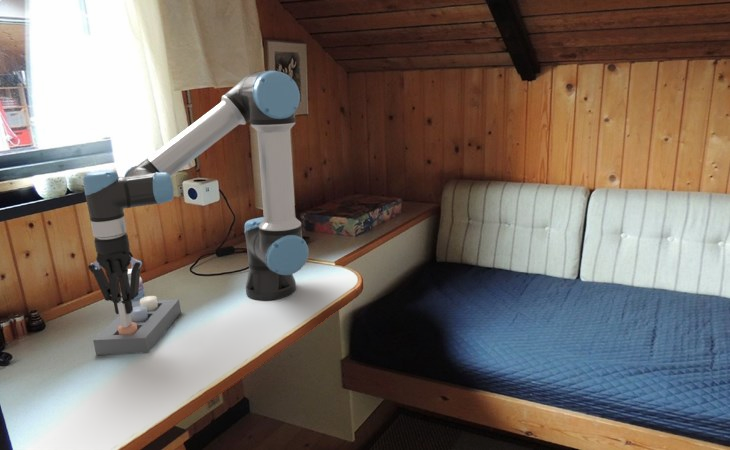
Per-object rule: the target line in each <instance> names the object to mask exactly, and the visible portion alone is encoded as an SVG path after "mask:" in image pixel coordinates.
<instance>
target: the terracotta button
mask: <svg viewBox="0 0 730 450" xmlns="http://www.w3.org/2000/svg"><path fill="white" fill-rule="evenodd" d="M118 331H119V335H130V334H135V333H136V332H137V331H138V329H137V324H136V323H135V322H132V323H131V324H130V325H129V326H128V327H123V328H122V327H121V325H120V326H118Z"/></svg>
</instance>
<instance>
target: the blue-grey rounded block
mask: <svg viewBox="0 0 730 450" xmlns="http://www.w3.org/2000/svg"><path fill="white" fill-rule="evenodd" d="M130 315H131V320H132V322H135V323H137V322H146V321H147V320H148V313H147V307H145V306H137V307H134V308H133V311H132V312H131V313H130Z"/></svg>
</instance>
